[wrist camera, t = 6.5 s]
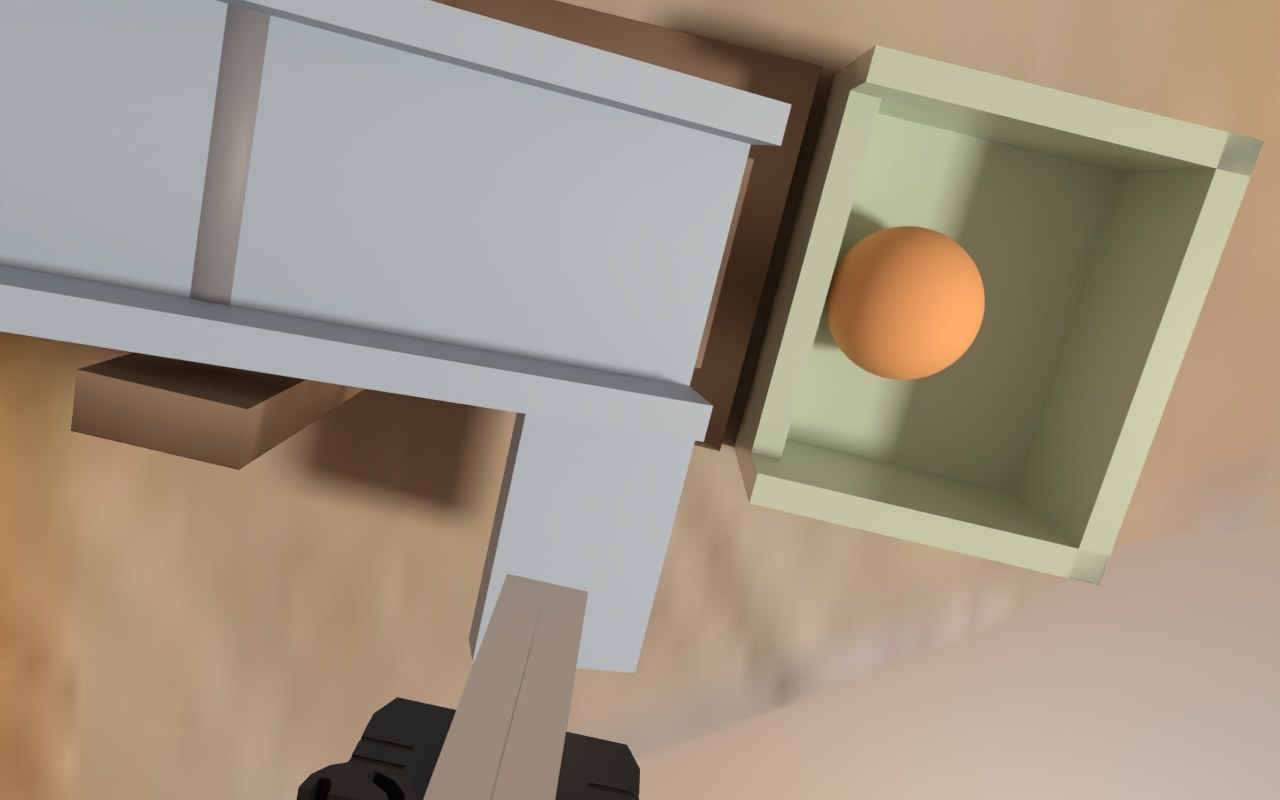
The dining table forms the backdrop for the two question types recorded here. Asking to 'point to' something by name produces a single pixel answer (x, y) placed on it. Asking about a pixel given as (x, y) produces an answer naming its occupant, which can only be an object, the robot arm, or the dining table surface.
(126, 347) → the lever
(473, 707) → the robot arm
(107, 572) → the dining table surface
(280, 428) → the stand
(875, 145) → the dish
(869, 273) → the ball
